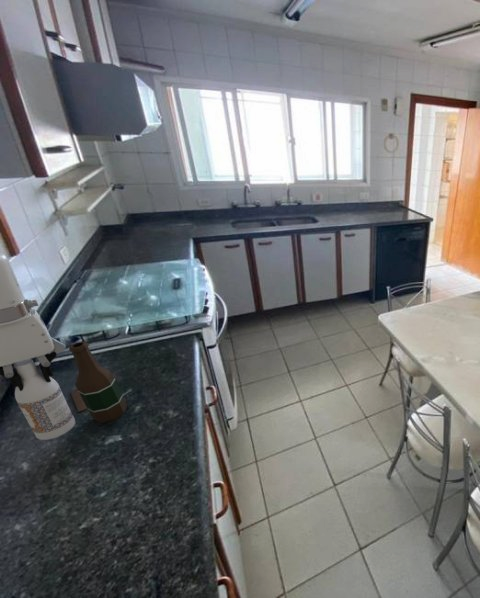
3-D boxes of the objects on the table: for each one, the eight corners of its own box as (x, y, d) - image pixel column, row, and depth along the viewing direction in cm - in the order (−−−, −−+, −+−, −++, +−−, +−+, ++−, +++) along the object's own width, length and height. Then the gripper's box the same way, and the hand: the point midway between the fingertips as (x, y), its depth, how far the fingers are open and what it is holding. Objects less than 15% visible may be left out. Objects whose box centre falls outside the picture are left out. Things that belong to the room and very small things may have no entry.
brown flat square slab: (78, 412, 95) (78, 411, 94) (70, 392, 101) (70, 391, 101) (129, 392, 103) (129, 391, 103) (119, 375, 110) (118, 374, 110)
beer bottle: (109, 403, 98) (76, 335, 88) (134, 404, 98) (105, 337, 88) (86, 423, 91) (47, 352, 81) (113, 424, 91) (78, 354, 81)
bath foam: (32, 432, 79) (-5, 364, 71) (69, 415, 85) (39, 350, 76) (42, 445, 76) (4, 376, 68) (80, 427, 81) (50, 360, 73)
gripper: (55, 295, 75) (80, 361, 82) (-66, 317, 63) (-23, 392, 71) (61, 306, 71) (87, 375, 78) (-67, 332, 59) (-21, 410, 66)
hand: (35, 382), depth 74 cm, fingers closed on bath foam, 3 cm apart
